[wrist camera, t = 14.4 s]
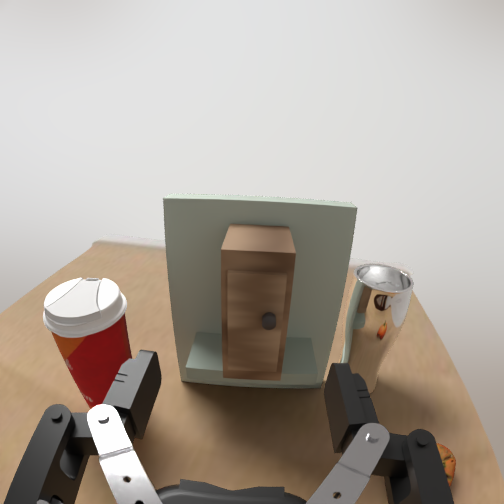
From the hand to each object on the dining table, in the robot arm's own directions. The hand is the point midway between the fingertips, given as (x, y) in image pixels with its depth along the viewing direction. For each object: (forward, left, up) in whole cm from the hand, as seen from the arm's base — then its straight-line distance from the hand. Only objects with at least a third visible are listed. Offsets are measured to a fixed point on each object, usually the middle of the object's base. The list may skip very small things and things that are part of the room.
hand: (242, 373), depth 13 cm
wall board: (0, +15, -18) cm, 23 cm away
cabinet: (0, +12, -10) cm, 15 cm away
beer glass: (+13, +16, -18) cm, 28 cm away
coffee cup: (-15, +9, -18) cm, 25 cm away
